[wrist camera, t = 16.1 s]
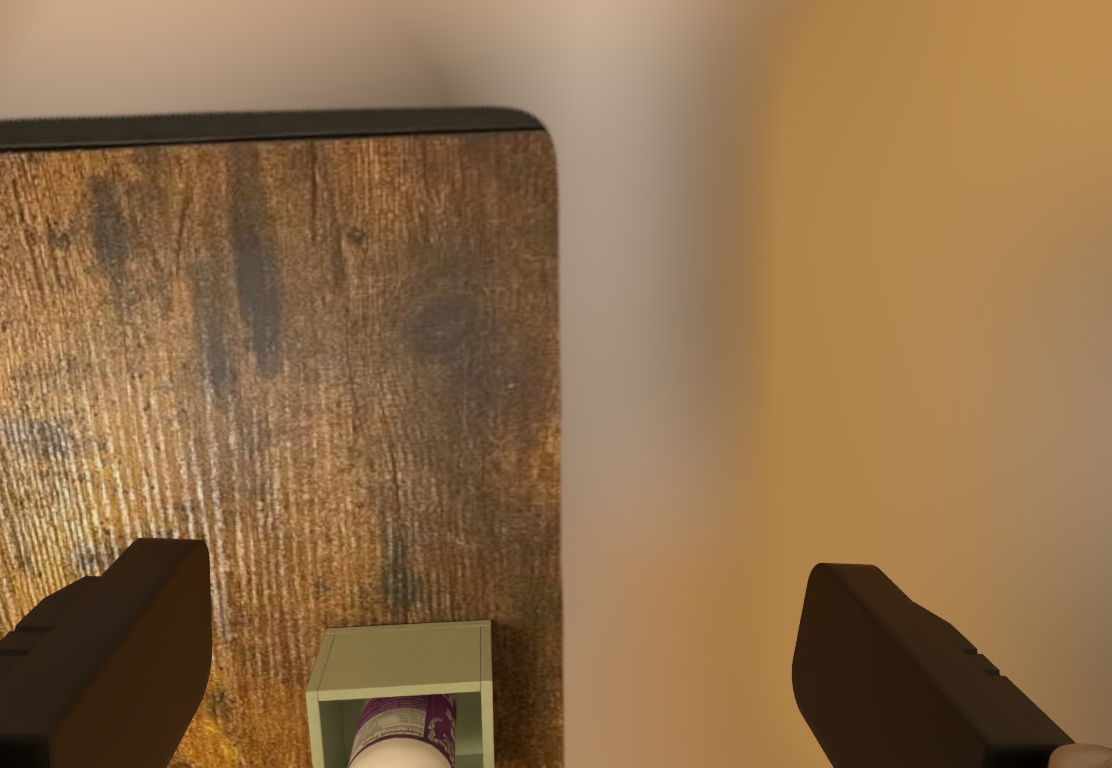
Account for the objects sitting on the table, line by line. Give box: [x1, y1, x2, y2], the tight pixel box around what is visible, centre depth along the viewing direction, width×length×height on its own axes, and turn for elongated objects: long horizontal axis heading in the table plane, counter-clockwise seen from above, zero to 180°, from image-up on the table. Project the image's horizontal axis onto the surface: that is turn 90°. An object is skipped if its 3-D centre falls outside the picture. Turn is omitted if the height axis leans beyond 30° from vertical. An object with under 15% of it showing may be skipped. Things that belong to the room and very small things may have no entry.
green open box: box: [305, 620, 494, 768], centre depth 42 cm, size 9×9×6 cm
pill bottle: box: [348, 693, 457, 768], centre depth 40 cm, size 5×5×10 cm
